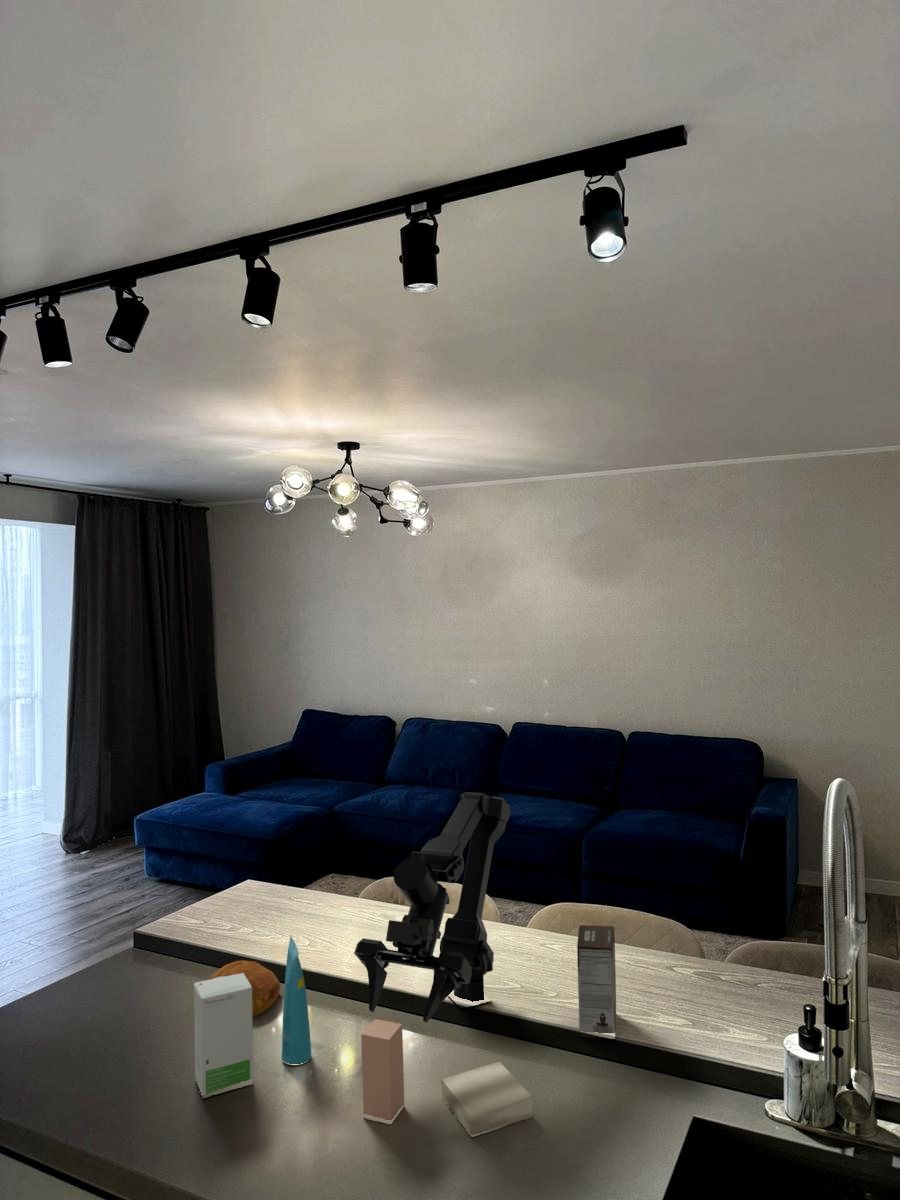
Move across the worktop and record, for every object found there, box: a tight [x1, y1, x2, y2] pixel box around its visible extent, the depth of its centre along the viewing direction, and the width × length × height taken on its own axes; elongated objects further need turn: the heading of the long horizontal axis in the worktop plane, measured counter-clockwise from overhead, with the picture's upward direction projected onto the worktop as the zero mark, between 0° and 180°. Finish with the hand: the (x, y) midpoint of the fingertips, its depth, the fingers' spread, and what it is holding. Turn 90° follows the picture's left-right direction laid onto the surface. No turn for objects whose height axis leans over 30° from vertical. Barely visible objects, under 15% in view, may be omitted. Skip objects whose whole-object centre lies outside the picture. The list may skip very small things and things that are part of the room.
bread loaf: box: [206, 959, 282, 1019], centre depth 153 cm, size 14×16×8 cm
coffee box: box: [576, 924, 617, 1033], centre depth 142 cm, size 9×6×16 cm
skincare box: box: [193, 973, 254, 1096], centre depth 129 cm, size 8×7×16 cm
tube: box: [281, 934, 312, 1064], centre depth 134 cm, size 7×5×19 cm, turn 26°
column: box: [360, 1018, 405, 1120], centre depth 120 cm, size 4×4×12 cm
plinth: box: [441, 1061, 533, 1135], centre depth 120 cm, size 10×10×3 cm
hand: (397, 1016), depth 125 cm, fingers open, 9 cm apart
